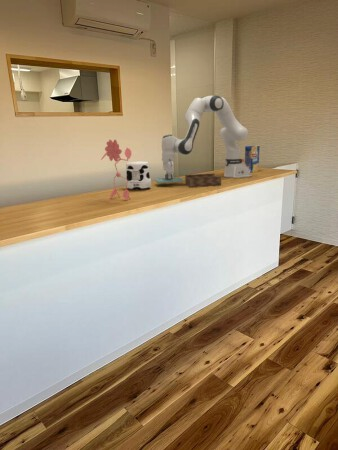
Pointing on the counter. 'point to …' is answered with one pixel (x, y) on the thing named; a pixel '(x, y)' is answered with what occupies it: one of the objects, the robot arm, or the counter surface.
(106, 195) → the counter surface
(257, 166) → the beverage box
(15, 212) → the counter surface
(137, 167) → the milk container
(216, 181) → the walnut box
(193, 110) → the robot arm
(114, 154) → the figurine
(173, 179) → the cover plate
